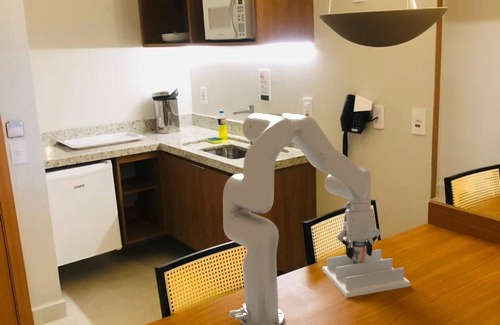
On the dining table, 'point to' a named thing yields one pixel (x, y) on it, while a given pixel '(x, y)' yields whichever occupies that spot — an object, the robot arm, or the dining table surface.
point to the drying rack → (364, 275)
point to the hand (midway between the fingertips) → (359, 255)
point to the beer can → (359, 251)
